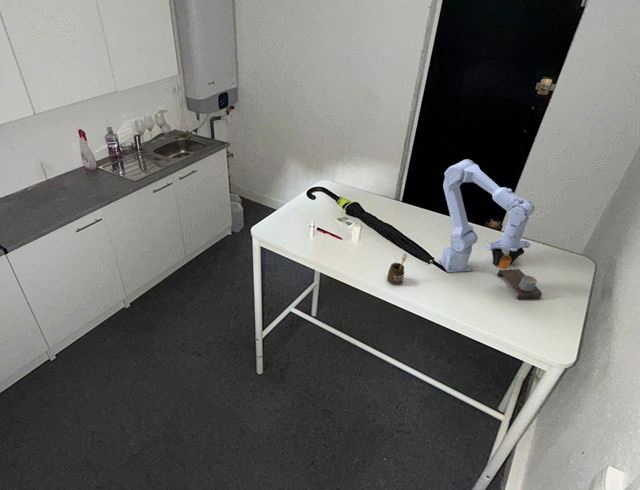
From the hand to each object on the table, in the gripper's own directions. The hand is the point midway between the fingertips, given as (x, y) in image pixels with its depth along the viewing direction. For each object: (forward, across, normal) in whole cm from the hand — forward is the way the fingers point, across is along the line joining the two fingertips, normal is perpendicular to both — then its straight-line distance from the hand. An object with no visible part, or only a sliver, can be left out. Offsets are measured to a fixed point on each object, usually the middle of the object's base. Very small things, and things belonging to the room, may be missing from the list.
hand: (501, 264), depth 152 cm
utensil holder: (+10, -37, +6) cm, 39 cm away
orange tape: (+1, 0, 0) cm, 1 cm away
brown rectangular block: (+10, +8, -2) cm, 13 cm away
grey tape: (+7, +8, -6) cm, 12 cm away
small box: (+10, +12, +16) cm, 22 cm away
